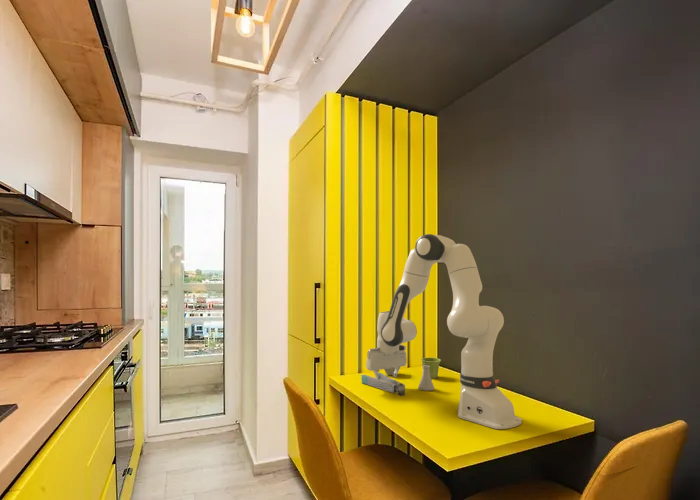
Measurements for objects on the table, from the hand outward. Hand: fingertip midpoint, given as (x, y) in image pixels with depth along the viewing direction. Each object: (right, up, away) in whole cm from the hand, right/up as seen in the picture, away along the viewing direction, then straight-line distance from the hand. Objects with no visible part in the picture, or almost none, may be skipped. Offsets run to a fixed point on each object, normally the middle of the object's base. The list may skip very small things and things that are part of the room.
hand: (386, 378), depth 174 cm
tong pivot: (+5, -4, -9) cm, 11 cm away
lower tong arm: (+1, -4, +3) cm, 6 cm away
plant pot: (+24, -6, +19) cm, 32 cm away
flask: (+18, -5, -1) cm, 18 cm away
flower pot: (+5, -6, +24) cm, 25 cm away
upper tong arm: (-4, -4, 0) cm, 6 cm away
